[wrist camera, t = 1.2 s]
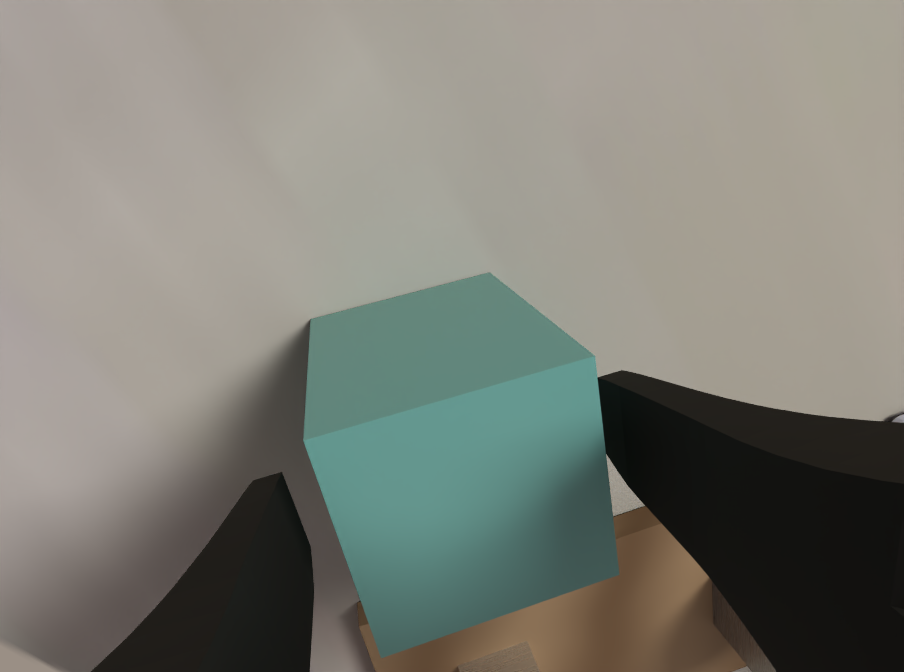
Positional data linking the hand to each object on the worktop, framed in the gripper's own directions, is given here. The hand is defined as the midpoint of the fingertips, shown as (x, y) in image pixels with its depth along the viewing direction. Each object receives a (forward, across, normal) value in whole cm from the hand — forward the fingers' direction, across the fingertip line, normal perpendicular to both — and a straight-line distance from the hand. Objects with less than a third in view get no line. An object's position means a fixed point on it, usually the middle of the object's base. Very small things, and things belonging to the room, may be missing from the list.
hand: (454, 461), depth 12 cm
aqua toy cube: (+5, 0, 0) cm, 5 cm away
